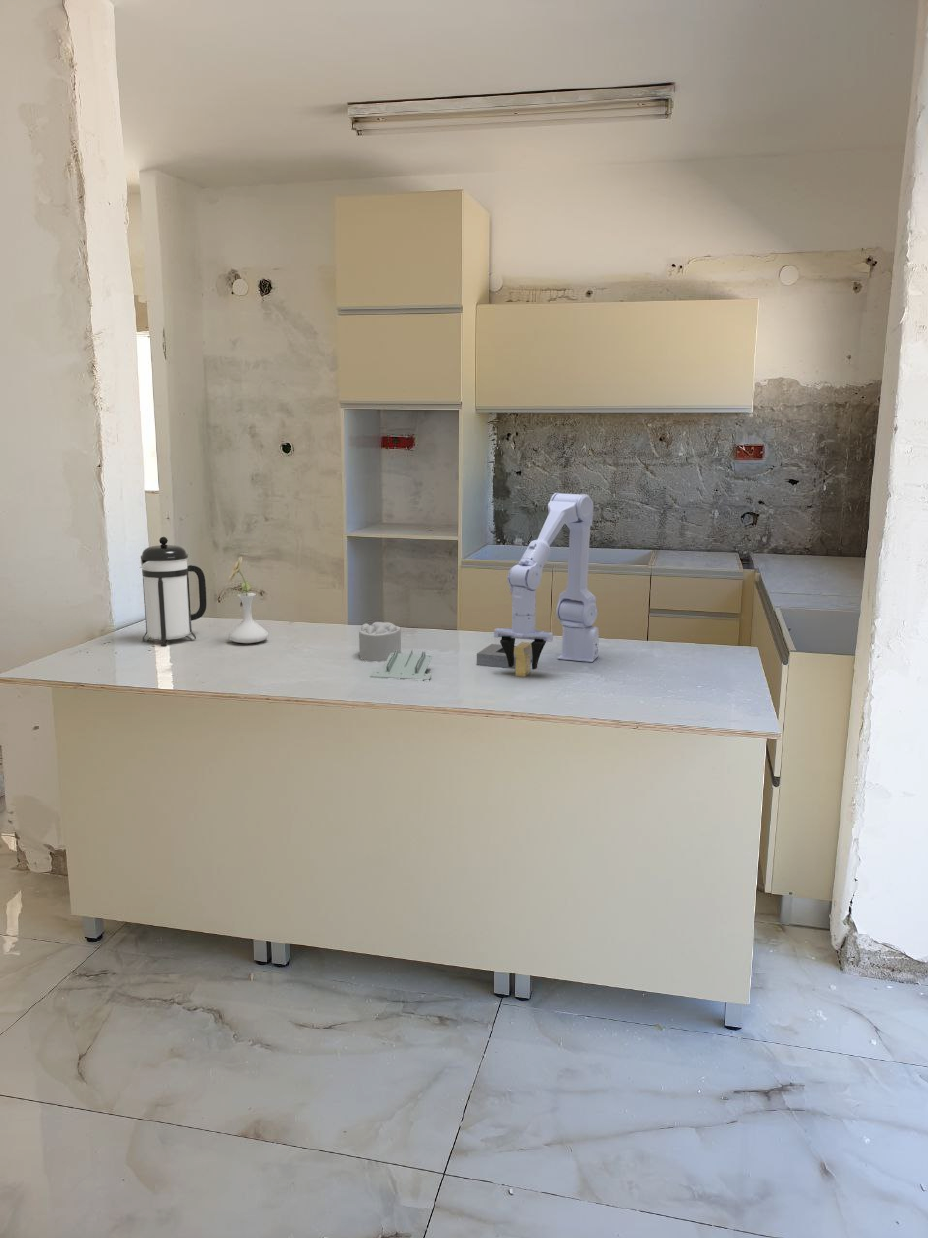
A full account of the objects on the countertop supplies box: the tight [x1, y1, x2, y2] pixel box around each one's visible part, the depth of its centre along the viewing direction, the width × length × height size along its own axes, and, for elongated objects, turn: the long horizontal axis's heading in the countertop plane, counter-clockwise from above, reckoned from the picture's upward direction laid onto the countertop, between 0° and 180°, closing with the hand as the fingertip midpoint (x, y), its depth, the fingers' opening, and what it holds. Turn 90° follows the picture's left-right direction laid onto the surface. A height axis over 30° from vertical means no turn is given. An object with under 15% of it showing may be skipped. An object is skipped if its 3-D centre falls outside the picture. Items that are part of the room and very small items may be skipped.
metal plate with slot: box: [476, 643, 532, 670], centre depth 243 cm, size 12×12×3 cm
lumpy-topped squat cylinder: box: [358, 621, 402, 662], centre depth 249 cm, size 10×13×9 cm
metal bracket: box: [369, 649, 433, 681], centre depth 232 cm, size 14×6×15 cm
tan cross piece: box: [514, 641, 532, 678], centre depth 230 cm, size 2×7×8 cm, turn 159°
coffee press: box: [138, 536, 207, 647], centre depth 265 cm, size 17×16×30 cm
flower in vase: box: [227, 556, 269, 644], centre depth 263 cm, size 13×11×25 cm
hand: (522, 667), depth 230 cm, fingers open, 5 cm apart
